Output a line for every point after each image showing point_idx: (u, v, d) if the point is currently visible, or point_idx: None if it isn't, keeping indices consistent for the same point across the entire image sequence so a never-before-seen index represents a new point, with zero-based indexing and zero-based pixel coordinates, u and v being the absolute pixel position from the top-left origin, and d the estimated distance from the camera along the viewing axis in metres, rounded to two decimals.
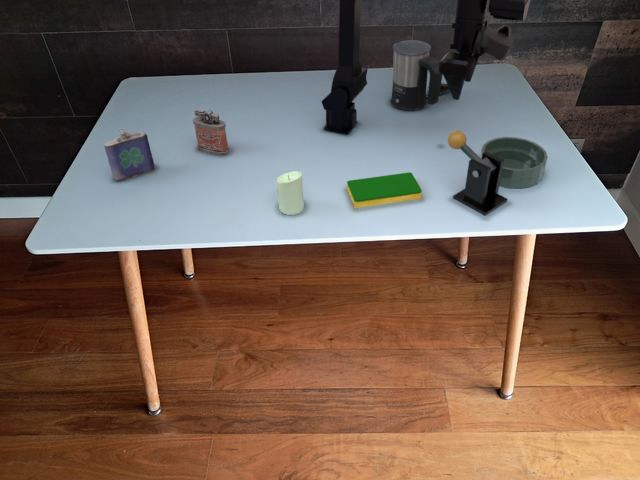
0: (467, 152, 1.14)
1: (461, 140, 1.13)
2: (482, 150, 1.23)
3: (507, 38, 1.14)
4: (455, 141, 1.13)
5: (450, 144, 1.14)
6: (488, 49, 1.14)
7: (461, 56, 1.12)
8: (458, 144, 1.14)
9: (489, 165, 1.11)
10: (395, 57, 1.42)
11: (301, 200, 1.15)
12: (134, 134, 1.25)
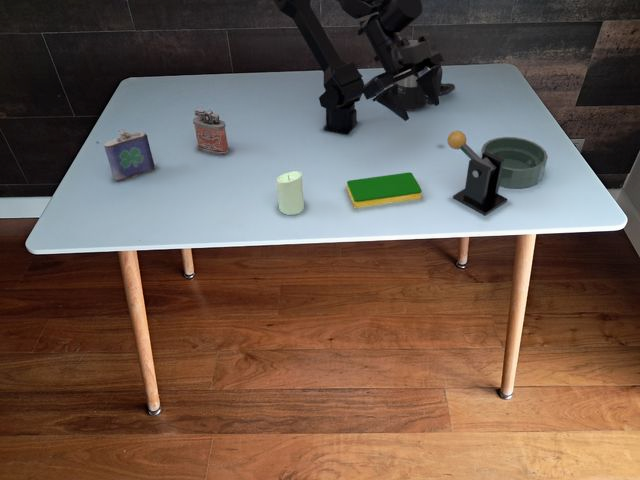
0: (467, 152, 1.14)
1: (461, 140, 1.13)
2: (482, 150, 1.23)
3: (421, 42, 1.13)
4: (455, 141, 1.13)
5: (450, 144, 1.14)
6: (404, 59, 1.13)
7: None
8: (458, 144, 1.14)
9: (489, 165, 1.11)
10: None
11: (301, 200, 1.15)
12: (134, 134, 1.25)
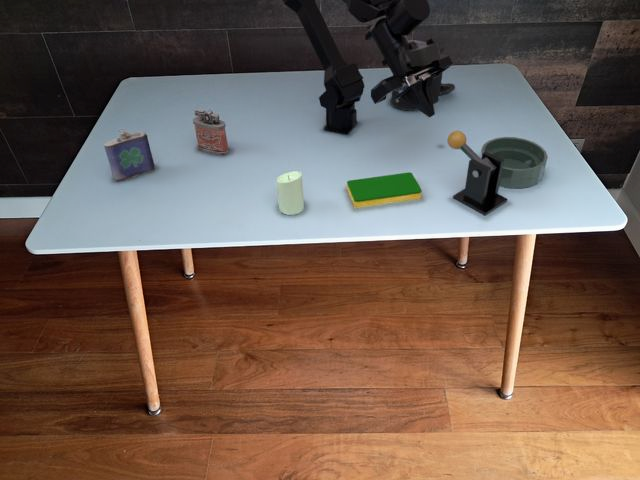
0: (467, 152, 1.14)
1: (461, 140, 1.13)
2: (482, 150, 1.23)
3: (430, 44, 1.11)
4: (455, 141, 1.13)
5: (450, 144, 1.14)
6: (412, 62, 1.12)
7: None
8: (458, 144, 1.14)
9: (489, 165, 1.11)
10: None
11: (301, 200, 1.15)
12: (134, 134, 1.25)
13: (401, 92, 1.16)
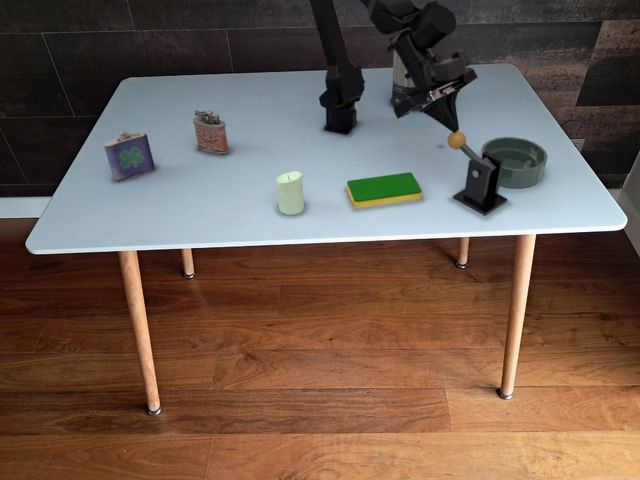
0: (467, 153, 1.14)
1: (461, 140, 1.13)
2: (482, 150, 1.23)
3: (455, 58, 1.08)
4: (455, 141, 1.13)
5: (450, 144, 1.14)
6: (437, 77, 1.08)
7: None
8: (458, 144, 1.14)
9: (489, 165, 1.11)
10: (395, 57, 1.42)
11: (301, 200, 1.15)
12: (134, 134, 1.25)
13: (425, 107, 1.13)
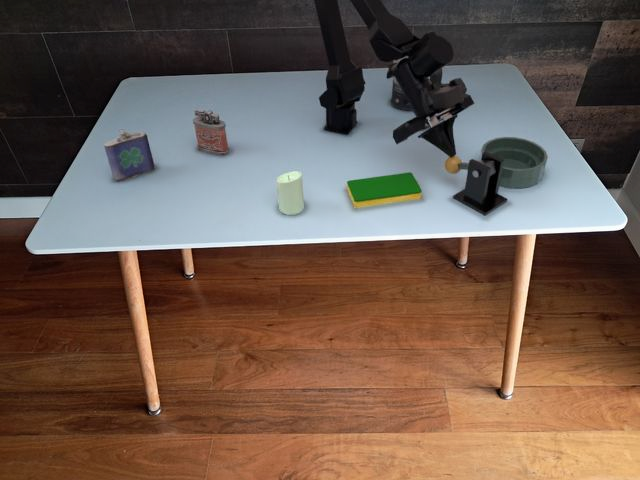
0: (464, 167, 1.16)
1: (454, 160, 1.17)
2: (482, 150, 1.23)
3: (453, 87, 1.11)
4: (449, 163, 1.17)
5: (447, 169, 1.18)
6: (435, 104, 1.12)
7: None
8: (453, 164, 1.17)
9: (486, 162, 1.12)
10: None
11: (301, 200, 1.15)
12: (134, 134, 1.25)
13: (423, 132, 1.16)
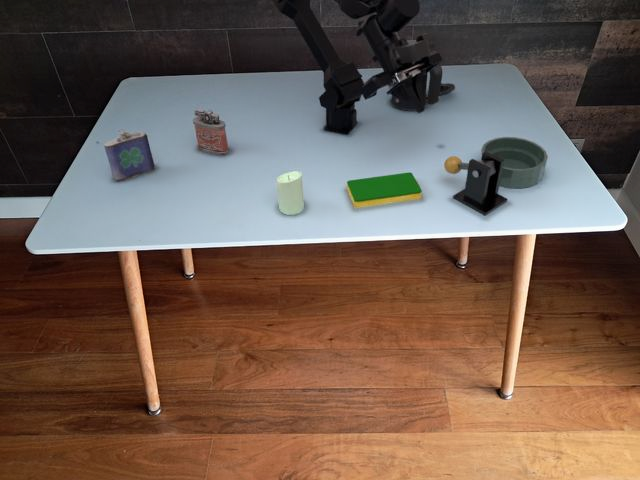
0: (464, 167, 1.16)
1: (454, 160, 1.17)
2: (482, 150, 1.23)
3: (419, 41, 1.13)
4: (449, 164, 1.17)
5: (447, 169, 1.18)
6: (402, 59, 1.13)
7: None
8: (453, 165, 1.17)
9: (486, 162, 1.12)
10: None
11: (301, 200, 1.15)
12: (134, 134, 1.25)
13: (391, 88, 1.18)
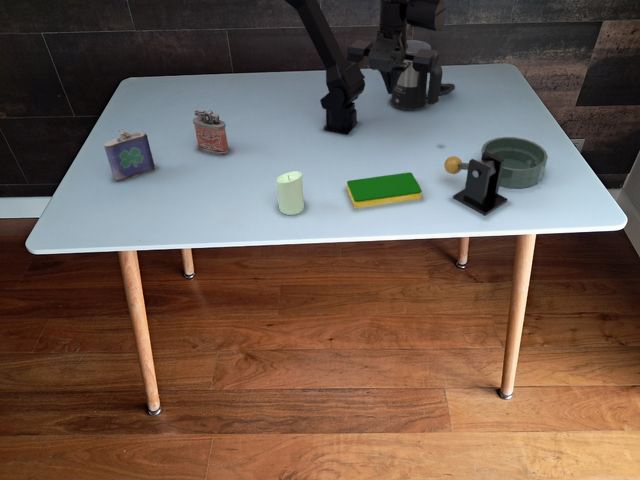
0: (464, 167, 1.16)
1: (454, 160, 1.17)
2: (482, 150, 1.23)
3: (385, 55, 1.16)
4: (449, 164, 1.17)
5: (447, 169, 1.18)
6: None
7: (360, 45, 1.25)
8: (453, 165, 1.17)
9: (486, 162, 1.12)
10: None
11: (301, 200, 1.15)
12: (134, 134, 1.25)
13: None
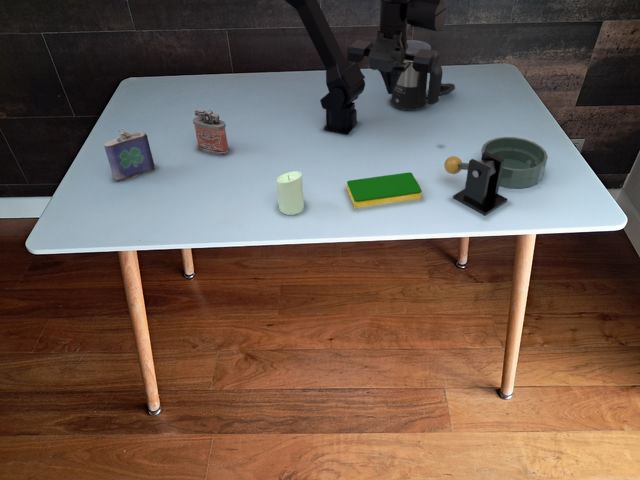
0: (464, 167, 1.16)
1: (454, 160, 1.17)
2: (482, 150, 1.23)
3: (385, 55, 1.16)
4: (449, 164, 1.17)
5: (447, 169, 1.18)
6: None
7: (360, 45, 1.25)
8: (453, 165, 1.17)
9: (486, 162, 1.12)
10: None
11: (301, 200, 1.15)
12: (134, 134, 1.25)
13: None
